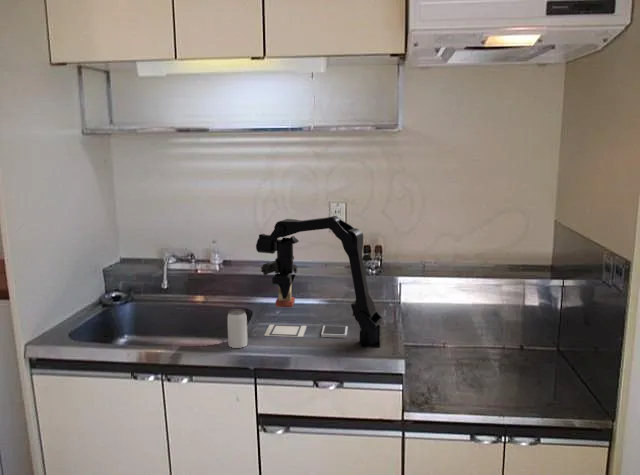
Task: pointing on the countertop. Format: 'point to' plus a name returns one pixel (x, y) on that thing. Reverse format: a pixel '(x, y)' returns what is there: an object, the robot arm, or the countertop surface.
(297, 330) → the print sheet
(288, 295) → the stamp
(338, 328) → the ink pad
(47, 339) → the countertop surface
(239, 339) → the can
